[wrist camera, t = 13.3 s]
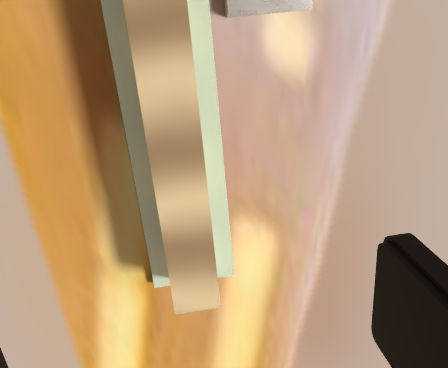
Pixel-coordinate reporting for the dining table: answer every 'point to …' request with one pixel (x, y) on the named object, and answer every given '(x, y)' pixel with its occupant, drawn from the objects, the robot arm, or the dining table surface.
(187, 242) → the rail
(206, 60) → the mat
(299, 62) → the dining table surface
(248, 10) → the post
